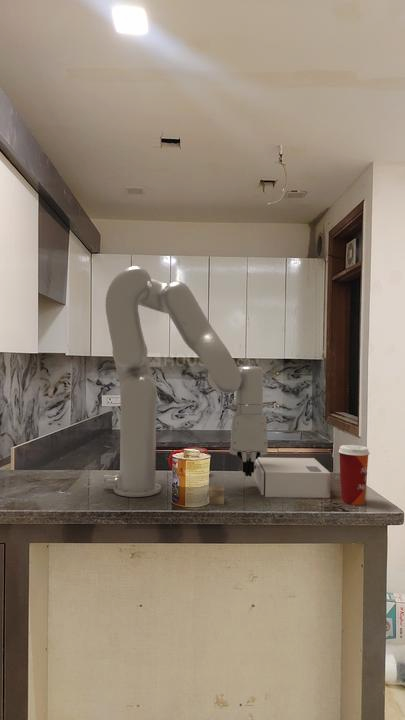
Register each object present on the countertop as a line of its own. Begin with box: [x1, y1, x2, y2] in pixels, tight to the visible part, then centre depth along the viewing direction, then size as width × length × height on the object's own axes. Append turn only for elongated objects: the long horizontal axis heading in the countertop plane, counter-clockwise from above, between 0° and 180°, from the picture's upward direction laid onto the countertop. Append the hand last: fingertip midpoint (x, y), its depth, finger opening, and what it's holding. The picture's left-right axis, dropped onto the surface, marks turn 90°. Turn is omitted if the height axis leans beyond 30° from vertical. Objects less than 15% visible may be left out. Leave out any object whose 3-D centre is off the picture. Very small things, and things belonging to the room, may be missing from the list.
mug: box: [168, 446, 208, 470], centre depth 145 cm, size 8×12×8 cm, turn 85°
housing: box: [257, 456, 331, 499], centre depth 132 cm, size 17×18×7 cm
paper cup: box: [337, 444, 371, 506], centre depth 120 cm, size 8×8×14 cm
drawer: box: [254, 459, 265, 496], centre depth 132 cm, size 17×16×6 cm
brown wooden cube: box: [208, 485, 225, 506], centre depth 118 cm, size 4×4×4 cm
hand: (248, 475), depth 132 cm, fingers closed
